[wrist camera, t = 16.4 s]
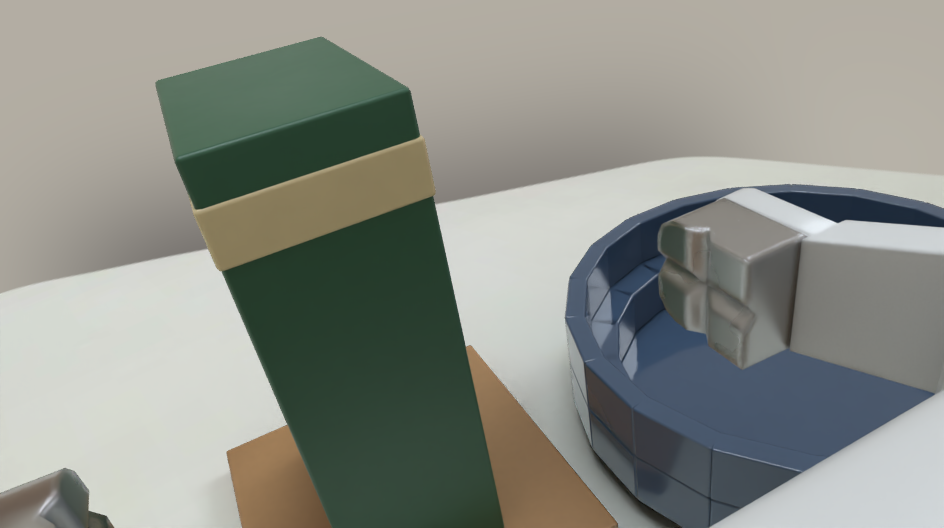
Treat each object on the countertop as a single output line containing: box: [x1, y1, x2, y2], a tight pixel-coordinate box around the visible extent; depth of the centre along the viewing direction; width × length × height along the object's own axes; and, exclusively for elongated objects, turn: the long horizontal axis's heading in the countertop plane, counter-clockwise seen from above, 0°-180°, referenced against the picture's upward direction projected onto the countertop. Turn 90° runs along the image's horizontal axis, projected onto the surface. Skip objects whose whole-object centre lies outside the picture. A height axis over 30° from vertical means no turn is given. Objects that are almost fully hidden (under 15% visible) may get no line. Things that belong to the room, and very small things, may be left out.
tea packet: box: [156, 37, 504, 528], centre depth 16 cm, size 4×6×12 cm
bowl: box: [565, 184, 944, 528], centre depth 20 cm, size 13×13×4 cm
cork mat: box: [227, 345, 618, 528], centre depth 20 cm, size 9×9×1 cm
